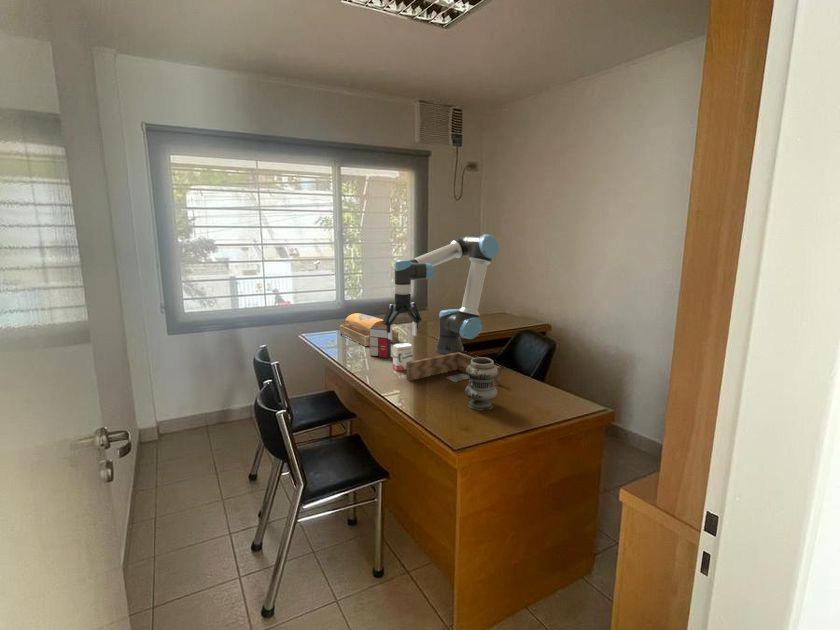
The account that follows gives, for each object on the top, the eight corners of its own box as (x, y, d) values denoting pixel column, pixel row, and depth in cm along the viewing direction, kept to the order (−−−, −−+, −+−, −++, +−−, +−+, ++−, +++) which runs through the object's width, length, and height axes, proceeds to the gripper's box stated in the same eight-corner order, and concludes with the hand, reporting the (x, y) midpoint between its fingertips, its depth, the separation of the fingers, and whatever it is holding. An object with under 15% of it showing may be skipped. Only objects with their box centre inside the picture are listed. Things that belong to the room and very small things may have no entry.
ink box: (396, 371, 205) (396, 347, 203) (392, 368, 210) (392, 344, 207) (413, 368, 209) (413, 344, 207) (408, 365, 214) (408, 342, 211)
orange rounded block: (393, 341, 261) (393, 318, 258) (370, 345, 251) (369, 322, 248) (367, 332, 284) (366, 311, 281) (344, 335, 274) (344, 314, 271)
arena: (458, 367, 211) (458, 351, 209) (499, 384, 188) (500, 367, 187) (406, 379, 194) (406, 362, 193) (444, 399, 172) (445, 380, 170)
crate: (370, 330, 288) (370, 321, 286) (398, 341, 259) (398, 331, 258) (339, 334, 275) (339, 325, 274) (365, 347, 247) (365, 336, 246)
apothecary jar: (474, 413, 159) (476, 366, 155) (459, 402, 170) (460, 357, 166) (502, 408, 163) (504, 362, 160) (485, 397, 174) (487, 354, 171)
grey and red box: (369, 356, 230) (368, 328, 227) (372, 354, 233) (372, 326, 230) (387, 358, 225) (387, 330, 223) (391, 356, 229) (391, 328, 226)
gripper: (420, 290, 212) (419, 332, 216) (375, 293, 198) (375, 339, 202) (429, 292, 206) (428, 335, 210) (383, 296, 192) (383, 342, 196)
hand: (402, 337), depth 206 cm, fingers open, 13 cm apart
